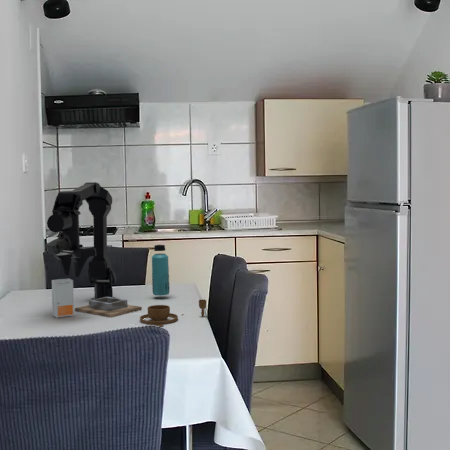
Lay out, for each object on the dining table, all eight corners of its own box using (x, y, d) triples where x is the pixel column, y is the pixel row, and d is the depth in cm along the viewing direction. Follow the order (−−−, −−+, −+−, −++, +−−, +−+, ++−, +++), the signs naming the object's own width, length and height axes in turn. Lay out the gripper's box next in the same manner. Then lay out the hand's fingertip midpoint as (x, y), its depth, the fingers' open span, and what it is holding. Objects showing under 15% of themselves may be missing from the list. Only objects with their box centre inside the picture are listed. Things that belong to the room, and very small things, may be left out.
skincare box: (56, 318, 197) (55, 281, 197) (52, 315, 201) (51, 279, 200) (74, 315, 201) (73, 279, 200) (70, 313, 204) (69, 278, 203)
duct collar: (74, 310, 208) (74, 300, 208) (106, 303, 219) (105, 294, 219) (111, 317, 197) (110, 306, 197) (141, 309, 209) (141, 299, 208)
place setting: (149, 315, 202) (148, 297, 202) (208, 317, 199) (208, 299, 198) (132, 328, 185) (131, 309, 185) (196, 330, 182) (196, 310, 181)
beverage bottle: (166, 299, 225) (165, 245, 224) (149, 299, 226) (148, 245, 225) (172, 296, 232) (170, 243, 230) (155, 295, 233) (154, 243, 231)
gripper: (32, 230, 200) (34, 277, 201) (68, 233, 188) (70, 283, 190) (60, 227, 208) (61, 272, 210) (96, 230, 197) (97, 277, 198)
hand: (71, 276), depth 202 cm, fingers open, 5 cm apart
